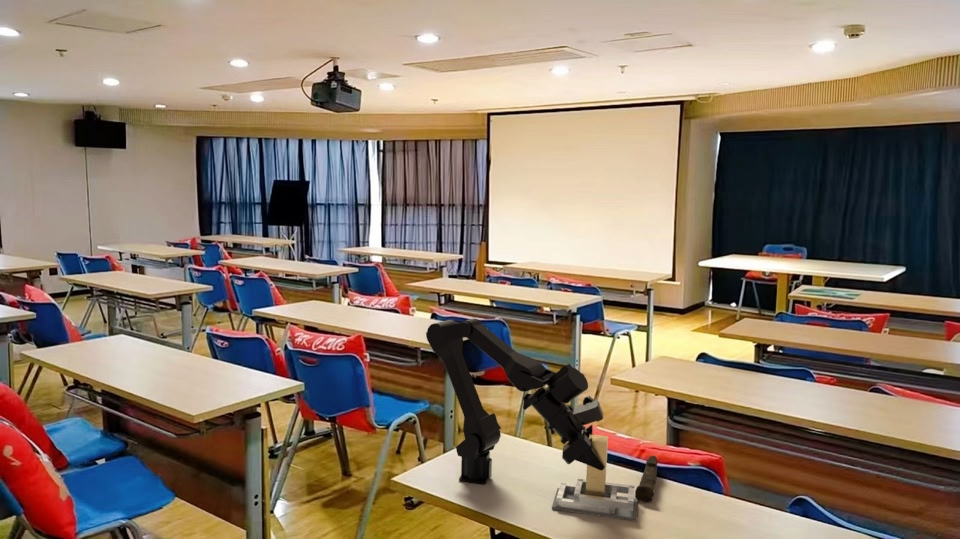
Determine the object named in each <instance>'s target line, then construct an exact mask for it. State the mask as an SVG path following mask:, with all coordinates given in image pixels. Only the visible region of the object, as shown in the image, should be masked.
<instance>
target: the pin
mask: <svg viewBox="0 0 960 539" xmlns="http://www.w3.org/2000/svg"><path fill="white" fill-rule="evenodd" d="M591 438H592V448H593V450H594V451H595V453H596V454H597V456H598V457H599V459H600V460H601V462H602V463H603V465H604V466H605V468H604V469H603V470H602V471H601V470H598V469H596V468H594V467H591V466H589V465H587V464H586V479H585V480H586V493H585V495H591V496H598V497H604V495H605V483H606V482H607V481H606V478H607V461H608V448H609V447H608V445H609V436H607V435H599V434H593V433H592V434H590V436H589V440H590V439H591Z"/></svg>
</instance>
